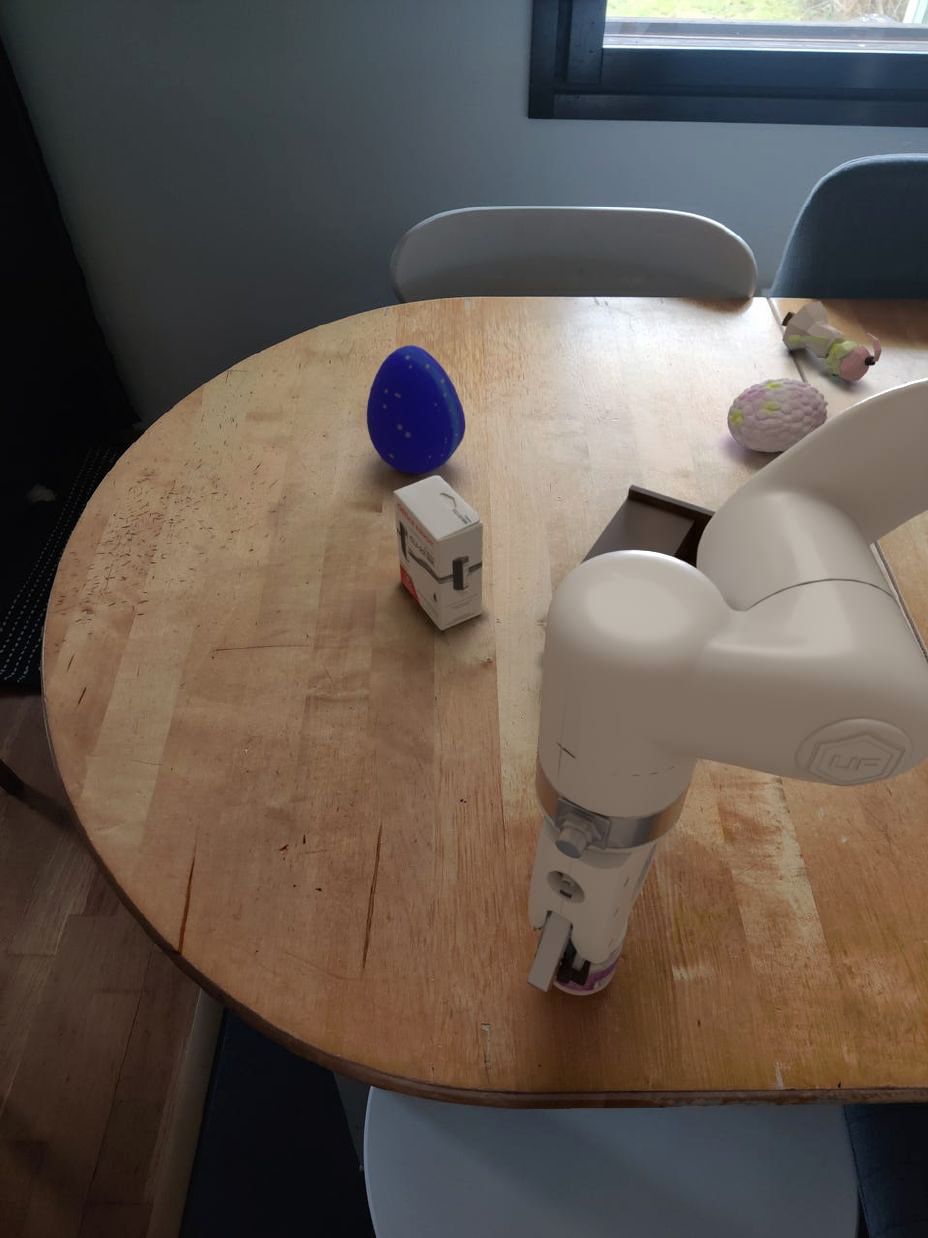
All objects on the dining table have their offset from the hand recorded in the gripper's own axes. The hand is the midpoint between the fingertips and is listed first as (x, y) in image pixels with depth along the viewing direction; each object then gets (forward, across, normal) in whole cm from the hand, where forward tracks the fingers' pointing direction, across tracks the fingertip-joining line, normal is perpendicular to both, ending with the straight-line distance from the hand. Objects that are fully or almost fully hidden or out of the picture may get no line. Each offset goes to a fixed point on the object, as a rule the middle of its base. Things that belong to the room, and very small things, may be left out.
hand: (583, 928), depth 56 cm
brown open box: (+6, +33, +7) cm, 35 cm away
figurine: (+7, +91, +6) cm, 92 cm away
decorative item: (+7, +70, +6) cm, 71 cm away
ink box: (+6, +27, +27) cm, 39 cm away
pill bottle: (+5, 0, 0) cm, 5 cm away
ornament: (+6, +44, +41) cm, 61 cm away
